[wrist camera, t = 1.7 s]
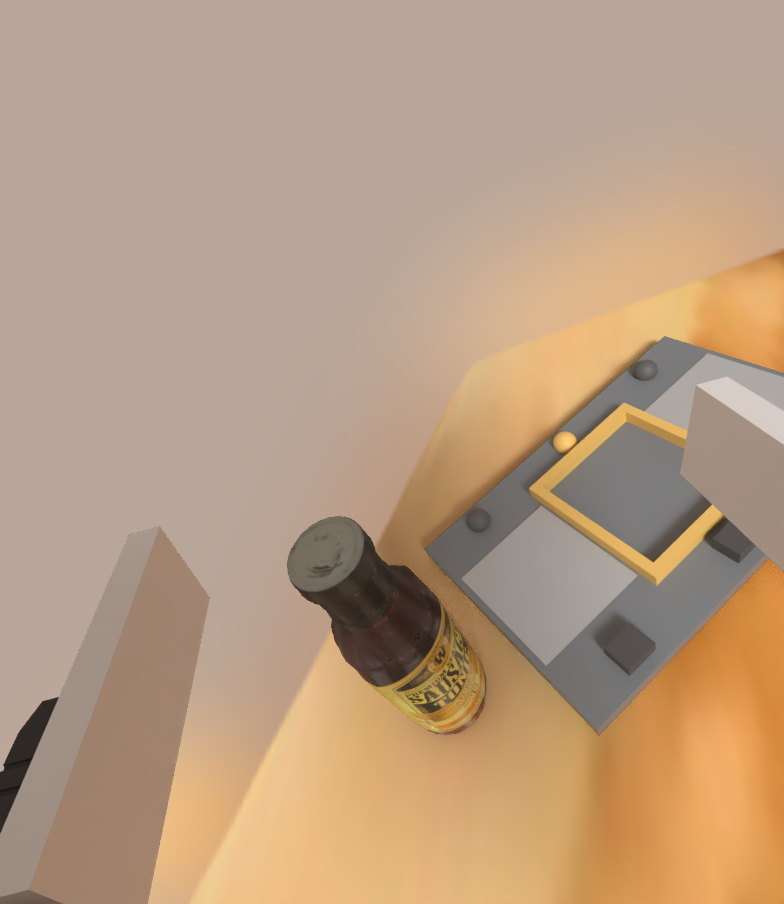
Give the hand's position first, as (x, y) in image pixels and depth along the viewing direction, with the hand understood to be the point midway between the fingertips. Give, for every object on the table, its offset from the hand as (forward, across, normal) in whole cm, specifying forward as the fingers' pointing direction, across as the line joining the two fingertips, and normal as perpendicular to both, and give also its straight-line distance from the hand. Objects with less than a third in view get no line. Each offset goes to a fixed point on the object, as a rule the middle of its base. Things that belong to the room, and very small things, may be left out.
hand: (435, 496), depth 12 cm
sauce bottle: (+10, -1, -27) cm, 29 cm away
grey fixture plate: (+18, +17, -22) cm, 33 cm away
